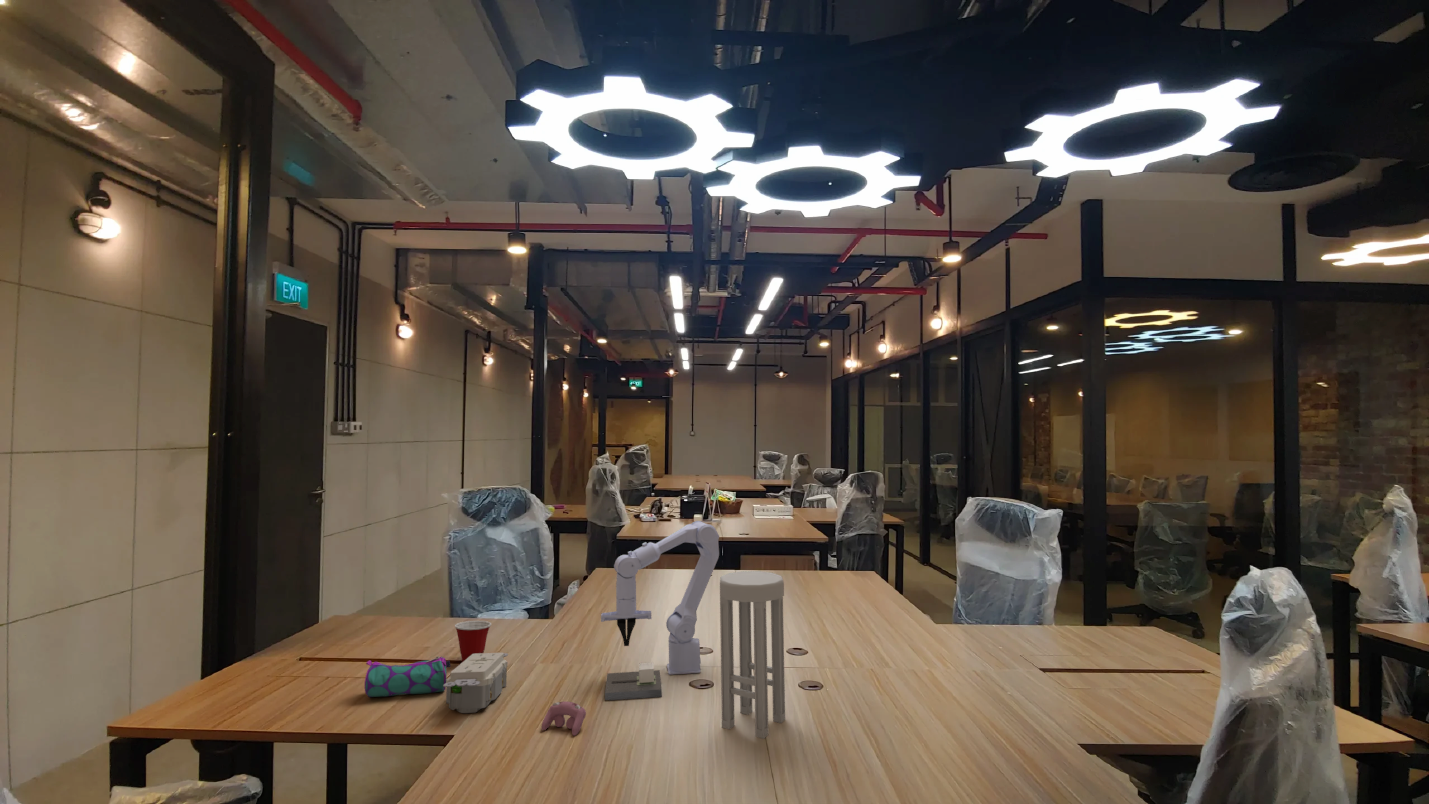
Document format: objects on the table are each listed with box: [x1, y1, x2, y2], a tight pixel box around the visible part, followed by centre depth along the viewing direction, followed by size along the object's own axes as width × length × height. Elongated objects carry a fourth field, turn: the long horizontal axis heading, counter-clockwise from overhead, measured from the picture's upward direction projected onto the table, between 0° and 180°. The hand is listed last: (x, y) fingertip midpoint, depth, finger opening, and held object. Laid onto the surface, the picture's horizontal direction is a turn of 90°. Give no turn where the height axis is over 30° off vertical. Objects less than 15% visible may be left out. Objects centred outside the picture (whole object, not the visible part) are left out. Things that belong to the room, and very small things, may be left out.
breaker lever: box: [638, 662, 655, 683], centre depth 176 cm, size 4×5×4 cm
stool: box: [719, 570, 786, 740], centre depth 154 cm, size 16×16×35 cm
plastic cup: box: [454, 620, 492, 663], centre depth 198 cm, size 11×11×12 cm
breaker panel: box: [604, 669, 663, 701], centre depth 176 cm, size 15×14×2 cm
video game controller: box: [541, 700, 587, 736], centre depth 152 cm, size 10×5×7 cm, turn 72°
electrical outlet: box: [443, 652, 509, 714], centre depth 170 cm, size 12×28×10 cm, turn 3°
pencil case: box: [364, 656, 451, 698], centre depth 175 cm, size 21×9×10 cm, turn 104°
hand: (626, 644), depth 184 cm, fingers closed
